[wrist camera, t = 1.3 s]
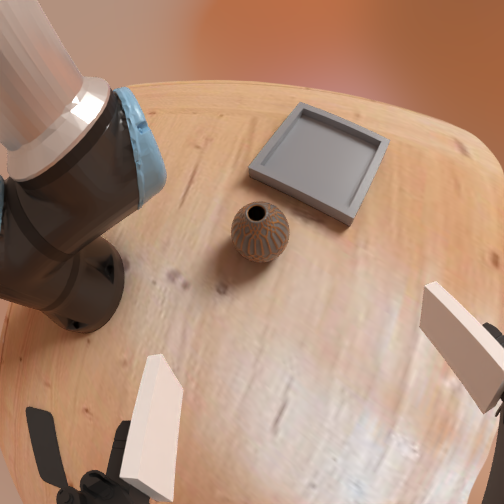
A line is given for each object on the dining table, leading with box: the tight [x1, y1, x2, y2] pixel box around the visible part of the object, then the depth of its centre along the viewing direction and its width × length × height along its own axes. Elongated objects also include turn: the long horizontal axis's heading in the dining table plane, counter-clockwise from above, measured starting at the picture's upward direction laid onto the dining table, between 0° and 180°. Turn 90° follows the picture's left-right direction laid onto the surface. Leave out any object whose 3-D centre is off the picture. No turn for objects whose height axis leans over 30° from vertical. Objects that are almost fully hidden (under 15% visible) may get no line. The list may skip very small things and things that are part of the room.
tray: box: [248, 102, 390, 226], centre depth 41 cm, size 16×16×2 cm
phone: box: [26, 407, 68, 488], centre depth 30 cm, size 7×1×15 cm
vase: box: [231, 202, 289, 262], centre depth 34 cm, size 7×7×9 cm
